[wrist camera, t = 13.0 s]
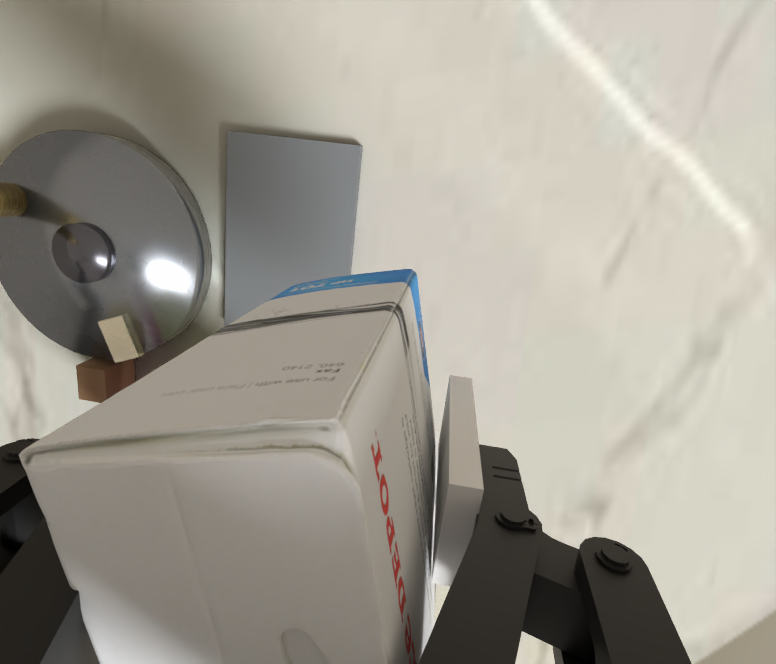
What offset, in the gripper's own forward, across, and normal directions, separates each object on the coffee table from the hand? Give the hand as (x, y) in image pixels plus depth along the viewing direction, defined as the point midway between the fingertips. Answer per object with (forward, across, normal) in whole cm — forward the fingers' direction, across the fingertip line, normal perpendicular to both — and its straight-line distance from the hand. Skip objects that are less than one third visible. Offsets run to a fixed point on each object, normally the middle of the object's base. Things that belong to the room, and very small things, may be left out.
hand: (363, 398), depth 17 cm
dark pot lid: (+14, -19, +1) cm, 24 cm away
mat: (+14, -8, +3) cm, 16 cm away
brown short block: (+14, -19, -7) cm, 25 cm away
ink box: (+1, 0, 0) cm, 1 cm away
